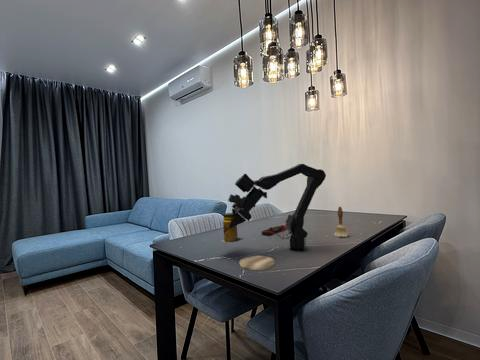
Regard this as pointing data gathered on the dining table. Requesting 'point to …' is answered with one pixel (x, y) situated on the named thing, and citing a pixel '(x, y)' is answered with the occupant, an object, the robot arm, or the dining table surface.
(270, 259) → the beige round plate
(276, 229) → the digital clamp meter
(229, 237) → the condiment
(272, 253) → the dining table surface
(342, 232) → the hand bell
